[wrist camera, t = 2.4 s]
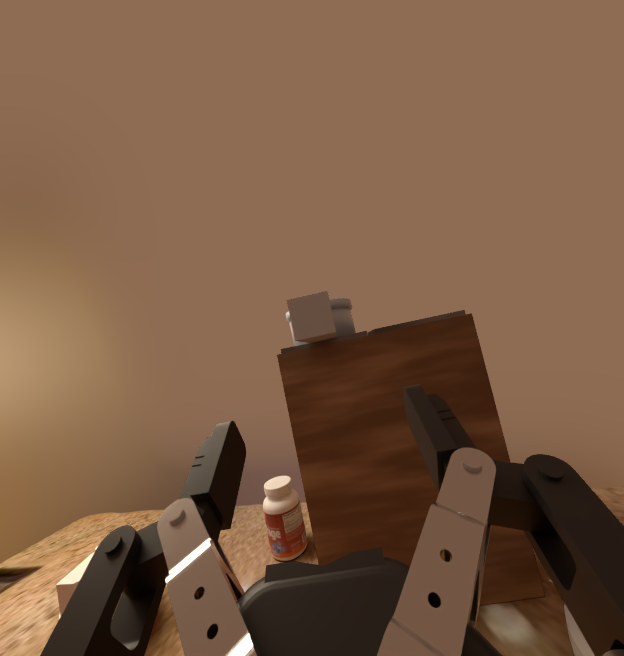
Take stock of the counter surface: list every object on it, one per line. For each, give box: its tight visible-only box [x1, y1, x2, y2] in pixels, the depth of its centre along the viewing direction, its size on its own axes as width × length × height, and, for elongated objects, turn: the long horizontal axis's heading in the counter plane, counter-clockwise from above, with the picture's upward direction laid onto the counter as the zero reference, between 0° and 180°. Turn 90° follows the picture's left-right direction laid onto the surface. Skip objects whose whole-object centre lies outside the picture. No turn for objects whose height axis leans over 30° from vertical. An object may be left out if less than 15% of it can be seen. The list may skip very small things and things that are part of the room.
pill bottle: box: [263, 476, 307, 561], centre depth 49 cm, size 6×6×11 cm
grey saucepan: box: [286, 291, 355, 346], centre depth 36 cm, size 23×10×5 cm, turn 175°
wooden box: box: [277, 310, 545, 606], centre depth 42 cm, size 16×24×33 cm, turn 85°
